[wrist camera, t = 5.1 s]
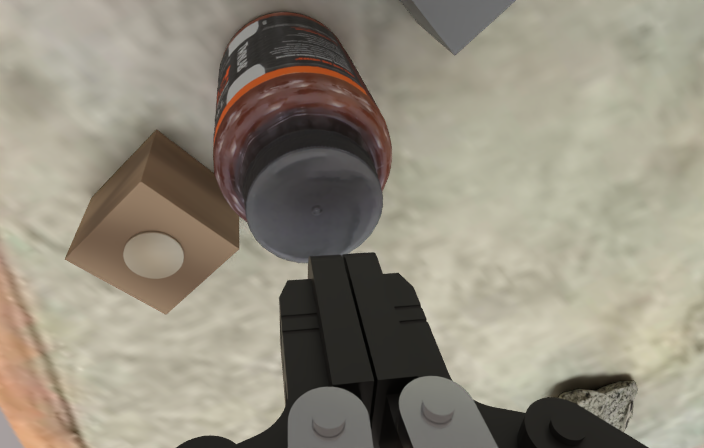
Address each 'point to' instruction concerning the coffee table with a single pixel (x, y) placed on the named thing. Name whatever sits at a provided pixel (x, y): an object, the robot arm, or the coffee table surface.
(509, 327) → the coffee table surface
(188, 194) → the walnut dotted block
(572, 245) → the coffee table surface
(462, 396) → the robot arm
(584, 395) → the rock sample
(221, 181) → the supplement bottle
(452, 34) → the charcoal dotted block
